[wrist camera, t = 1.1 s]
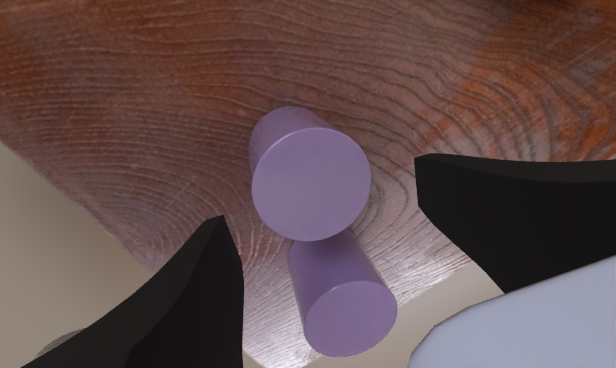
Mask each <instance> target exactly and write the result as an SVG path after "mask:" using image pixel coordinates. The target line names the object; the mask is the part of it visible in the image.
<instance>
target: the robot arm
mask: <svg viewBox="0 0 616 368" xmlns="http://www.w3.org/2000/svg"><path fill="white" fill-rule="evenodd" d="M414 164H415V175H416V187H417V198H418V206H419V207H420V209H421V210H422V211H423V213H424V214H425V215H426V216H427V218H428V219H429V220H430V221H431V222H432V223H433V225H434V226H436V227H437V228H438V229H439V230H440V231H441V232H442V233H443V234H444V235H445V236H446V237H447V238H449V239H450V240H451V241H452V242H453V243H454V244H455V245H456V246H458V247H459V248H460V249H461V250H462V251H463V252H464V253H465V254H466V255H468V256H469V257H470V258H471V259H472V260H473V261H474V262H475V263H477V264H478V265H479V266H480V267H481V268H482V269H483V270H484V271H485V272H486V273H487V274H488V276H489V277H490V278H491V279H492V280H493V281H494V282H495V283H496V284H497V286H498V287H499V288H500V289H501V290H502V291H503V292H504V293H505V294H503V295H501V296H497V297H495V298H492V299H489V300H486V301H483V302H481V303H478V304H475V305H472V306H469V307H466V308H465V309H463V310H461V311H460V312H458V313H456V314H454V315H452V316H451V317H449V318H447V319H445V320H444V321H442V322H440V323H438V324H437V325H435V326H434V327H433V328H432V329H431V330H430V332H429V333H428V334H427V335H426V336H425V338H424V339H423V340H422V341H421V343H419V345H418V346H417V347H416V348H415V349H414V351H413V352H412V354H411V356H410V359H409V364H408V368H616V159H614V160H601V161H579V162H529V161H512V160H499V159H489V158H479V157H471V156H462V155H453V154H440V153H431V154H426V155H423V156H419V157H416V158H414ZM243 306H244V279H243V270H242V262H241V259H240V256H239V254H238V251H237V248H236V246H235V243H234V241H233V238H232V236H231V233H230V231H229V228H228V226H227V223H226V220H225V218H224V215H221V216H217V217H214V218H211V219H207V220H205V221H204V222H203V223H202V224H201V225H200V226H199V227H198V229H197V230H196V231H195V232H194V233H193V234H192V236H191V237H190V238H189V239H188V240H187V241H186V242H185V244H184V245H183V246H182V247H181V248H180V249H179V250H178V251H177V253H176V254H175V255H174V256H173V257H172V258H171V259H170V260H169V261H168V262H167V263H166V264H165V265H164V266H163V267H162V268H161V269H160V270H159V271H158V272H157V273H156V274H155V275H154V276H153V277H152V278H151V279H150V280H149V281H148V282H146V283H145V284H144V285H143V286H142V287H140V288H139V289H138V290H137V291H136V292H135V293H134V294H132V295H131V296H130V297H128V298H127V299H126V300H124V301H123V302H122V303H120V304H119V305H118V306H116V307H115V308H114V309H113V310H111V311H110V312H108V313H107V314H106V315H105V316H103V317H102V318H101V319H99V320H97V321H96V322H95V323H93V324H92V325H90V326H89V327H87V328H86V329H84V330H83V331H81V332H80V333H78V334H76V335H75V336H73V337H72V338H70V339H68V340H67V341H65V342H64V343H62V344H61V345H59V346H57V347H56V348H54V349H52V350H51V351H49V352H47V353H46V354H44V355H42V356H40V357H38V358H37V359H35V360H33V361H31V362H30V363H28V364H26V365H24V366H22V367H21V368H243V359H242V334H243Z"/></svg>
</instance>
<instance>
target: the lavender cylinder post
mask: <svg viewBox="0 0 616 368" xmlns="http://www.w3.org/2000/svg"><path fill="white" fill-rule="evenodd" d="M248 159H249V170H250V180H251V191H252V199H253V203H254V206H255V209H256V211H257V213H258V215H259V217H260V218H261V220H262V221H263V222H264V223H265V224H266V225H267V226H268V227H269V228H270V229H271V230H272V231H274V232H276V233H277V234H279V235H281V236H283V237H285V238H288V239H292V240H297V241H317V240H322V239H325V238H329V237H331V236H333V235H336V234H338V233H339V232H341V231H343V230H344V229H346V228H347V227H348V226H349V225H350V224H352V223H353V222H354V221H355V220H356V218H357V217H358V216H359V215H360V213H361V212H362V211H363V209H364V207H365V205H366V203H367V201H368V198H369V195H370V191H371V184H372V175H371V168H370V164H369V161H368V159H367V157H366V155H365V153H364V151H363V150H362V148H361V147H360V146H359V145H358V144H357V143H356V142H355V141H354V140H353V139H352V138H350V137H349V136H348V135H346V134H345V133H343V132H342V131H341V130H339V129H338V128H337V127H335V126H334V125H332V124H331V123H330V122H328V121H327V120H326V119H324V118H323V117H321V116H320V115H319V114H317V113H316V112H314V111H312V110H310V109H308V108H304V107H300V106H286V107H281V108H278V109H276V110H273V111H271V112H270V113H268V114H267V115H265V116H264V117H263V118H262V119H261V120H260V121H259V122H258V123H257V124H256V126H255V127H254V129H253V131H252V133H251V135H250V139H249V143H248Z"/></svg>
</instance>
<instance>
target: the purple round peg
mask: <svg viewBox="0 0 616 368" xmlns="http://www.w3.org/2000/svg"><path fill="white" fill-rule="evenodd" d="M288 268H289V272H290V276H291V280H292V285H293V289H294V293H295V297H296V302H297V306H298V310H299V314H300V319H301V323H302V327H303V331H304V335H305V338H306V340H307V342H308V343H309V345H310V346H311V347H312V348H313V349H314V350H316V351H317V352H319V353H321V354H324V355H327V356H332V357H346V356H352V355H356V354H359V353H362V352H364V351H366V350H368V349H370V348H372V347H373V346H375V345H376V344H378V343H379V342H380V341H381V340H382V339H383V338H384V337H385V336H386V335H387V334H388V333H389V331H390V330H391V328H392V326H393V325H394V323H395V320H396V316H397V302H396V299H395V297H394V295H393V293H392V292H391V290H390V289H389V287H388V285H387V284H386V282H385V281H384V279H383V278H382V276H381V275H380V273H379V272H378V270H377V269H376V267H375V265H374V264H373V262H372V261H371V259H370V258H369V256H368V255H367V253H366V252H365V250H364V248H363V247H362V245H361V244H360V242H359V241H358V239H357V238H356V236H355V235H354V234H353V233H352V232H351V231H350V230H349V229H347V228H346V229H344V230H343V231H341V232H339V233H338V234H336V235H333V236H331V237H329V238H325V239H322V240H317V241H297V240H295V241H294V242H293V244H292V245H291V247H290V250H289V253H288Z"/></svg>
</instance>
